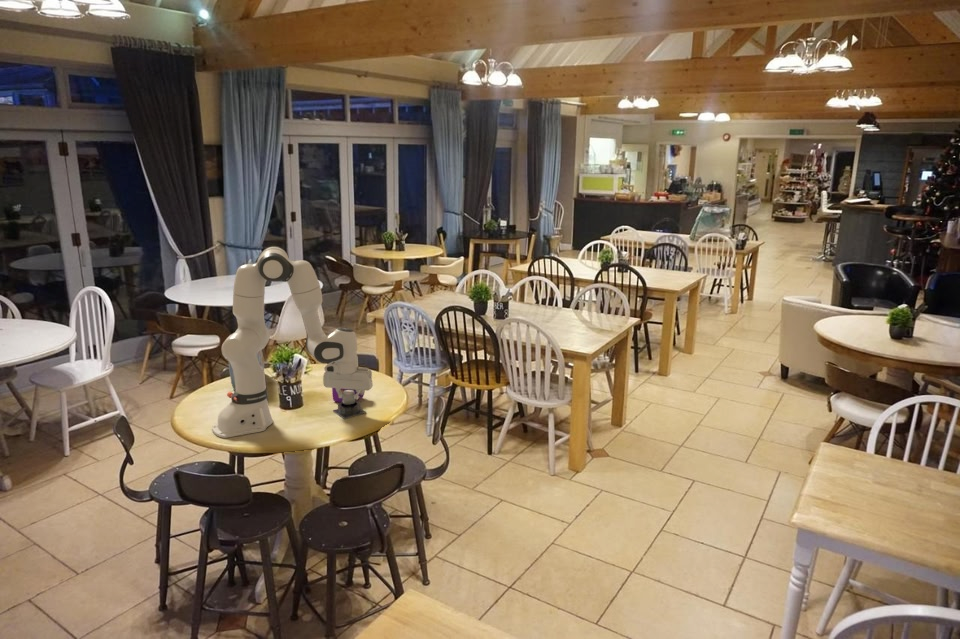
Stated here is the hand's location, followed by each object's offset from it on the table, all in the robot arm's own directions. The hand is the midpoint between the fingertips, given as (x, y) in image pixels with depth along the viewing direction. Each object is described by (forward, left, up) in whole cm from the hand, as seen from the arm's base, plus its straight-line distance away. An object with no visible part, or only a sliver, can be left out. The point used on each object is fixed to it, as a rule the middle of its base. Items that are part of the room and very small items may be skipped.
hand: (348, 398), depth 268 cm
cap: (0, 0, -2) cm, 2 cm away
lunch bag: (-20, +64, -6) cm, 67 cm away
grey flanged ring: (0, 0, -6) cm, 6 cm away
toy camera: (+7, +13, -6) cm, 16 cm away
